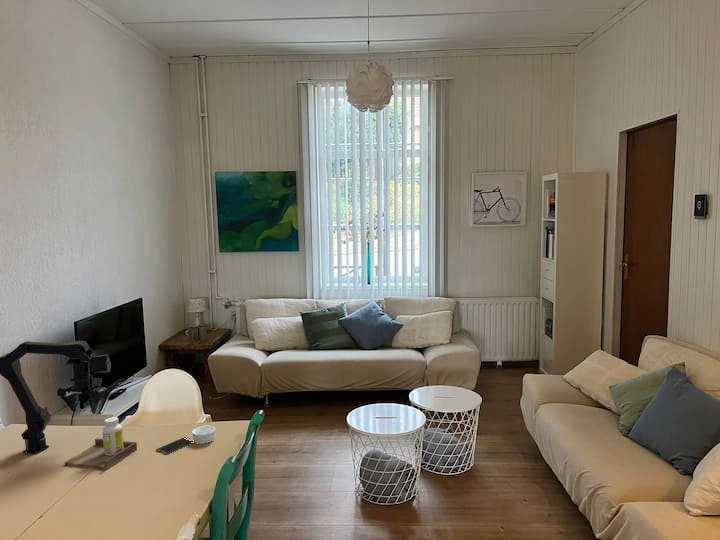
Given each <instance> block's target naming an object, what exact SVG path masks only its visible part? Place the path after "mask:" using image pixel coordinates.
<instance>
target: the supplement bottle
mask: <svg viewBox="0 0 720 540" xmlns="http://www.w3.org/2000/svg"><path fill="white" fill-rule="evenodd" d="M103 423H104V426H103V427H102V433H101V434H102V439H103V446H104V454H105V455H107V456H113V455H115V454H117V453H118V452H120V451H121V450H123V449H124V446H123V441H124V436H123V425H122V424H120V423H119V417H116V416H114V417H109V418H106V419H104V422H103Z"/></svg>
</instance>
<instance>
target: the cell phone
mask: <svg viewBox="0 0 720 540" xmlns="http://www.w3.org/2000/svg"><path fill="white" fill-rule="evenodd" d="M183 437H184V438H186V437H187V436H183ZM183 437H181V438H179V439H176V440H174V441H172V442H170V443H167V444H165V445H163V446H161V447H158V448H156V449H155V452H156V453H159V452H160V453H159V454H161V453H162V455H164V456H168V455H170V453H171V454H173V453H175V452H177V451H179V450H178V449H180V450H182V449H184V448H186V447H188V446H190V445H189V444H191V442H193V441H189V440H186V439H187V438H189V439H191V438H190V437H187V438H186V439H184V438H183ZM187 445H188V446H187ZM191 445H192V444H191ZM185 446H186V447H185ZM183 447H184V448H183ZM181 448H182V449H181ZM176 450H177V451H176ZM174 451H175V452H174ZM172 452H173V453H172Z"/></svg>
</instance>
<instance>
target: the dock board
mask: <svg viewBox="0 0 720 540" xmlns="http://www.w3.org/2000/svg"><path fill="white" fill-rule="evenodd" d="M137 444H138V443H137V442H136V441H125V440H123V446H124V449H123V450H121V451H120V452H118V453H117V454H115V455H113V456H107V455H105V454H104V446H103V438H95V439H94V444H93V445H92V446H90V447H88V448H86V449H85V450H83V451H82V452H80V453H78V454H77V455H75V456H73V457H71V458H69V459H68V460H66V461H64V466H68V465H69V467H79V468H88V469H96V470H104V471H108V470H109V469H111V468H112V467H114V466H116V465H117V464H118V463H120V462H121V461H122V460H124V459H125V458H127V457H129V456H130V455H132V454H133V453H134V452H136V451H138V445H137Z"/></svg>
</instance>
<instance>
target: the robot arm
mask: <svg viewBox="0 0 720 540" xmlns="http://www.w3.org/2000/svg"><path fill="white" fill-rule="evenodd" d="M27 354H33V355H34V354H40V355H60V356H63V357H66V358H69V359H68V360H67V361H66V362H65V365H71V369H72V371H71V372H72V377H71V378H70V382H72V383H73V384H66V385H63V386H60V387H59V388H58V390H56V392H57V394H56V395H57V397H60V399H62V400H63V401H64V402H65V404H66V405H67V406H68V408H69V409H70V410H71V412H72V413H75V412H76V410H77V403H76V398H77V396H78V395H79V394H80V395H88V396H87V397H89V398H88V399H87V400H88V404H89V407H90V411H91V414H92V415H94V414H96V413H97V410H98V406H99V404H100V403H99V402H100V400H101V399H102V398H103V397H106V395H108V393H109V392H108V388H107V387H106V386H102V381H103V378H99V377H93V376H94V375H93V374H99V373H109V372H110V371H111V367H112V364H111V363H112V362H111V360H110V357H109V354H103V355H96V353H95V352H94V351H93V350H92V349H91V348H90V345H89V344H88V343H87V341H85V340H75V341H69V342H63V343H61V342H40V341H39V342H38V341H29V340H27V341H24V342H21V343H20V344H19V345H18V346H17V347H16V348H14V349H13V350H12V351H10V352H7V353H5V354H3V355H2V356H0V376H1V377H3V378H4V379H6V380H7V381H8V383H9V385H10V387H11V389H12V391H13V392H14V394H15V397H16V398H17V400H18V402H19V404H20V405H21V407H22V409H23V411H24V413H25V424H26V427H27V428H26V429H25V430H24V431H23V432H22V433H21V438H22V440H24V445H25V449H24V450H22V451H21V452H27V453H26V454H30V453H34V454H33V455H36V453H37V454H38V452H39V453H41V452H42V451H44V450H46V449H48V448H49V447H50V445H47V442H46V441H47V440H46V434H45V432H44V431H45V430H46V428H47V427H48V426H49V424H50V422H51V420H52V419H51V416H52V414H51V413H50V412H49V410H48V408H47V407H45V406H44V407H43V408H42V407H41V406H40V405H39V404H38V402H37V400H36V399H35V397H34V395H33V393H32V391H31V389H30V388H29V386H28V384H27V381H26V379H25V378H24V375H23V374H22V364H21V361H20V359H22V358H23V357H24V356H25V355H27ZM90 373H92V374H90Z"/></svg>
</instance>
